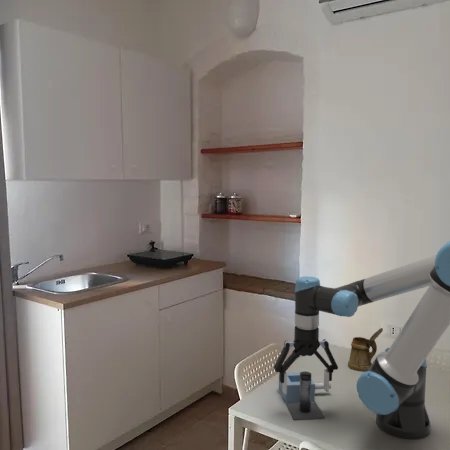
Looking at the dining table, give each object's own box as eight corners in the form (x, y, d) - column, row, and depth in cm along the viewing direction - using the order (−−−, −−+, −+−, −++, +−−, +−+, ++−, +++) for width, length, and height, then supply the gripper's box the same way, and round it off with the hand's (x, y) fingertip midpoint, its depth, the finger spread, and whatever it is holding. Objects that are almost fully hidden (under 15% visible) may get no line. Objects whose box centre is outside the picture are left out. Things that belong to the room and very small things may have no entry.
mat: (325, 418, 139) (325, 417, 139) (293, 420, 138) (293, 418, 138) (315, 403, 149) (315, 401, 149) (285, 404, 148) (285, 403, 148)
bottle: (308, 407, 146) (309, 371, 145) (312, 412, 142) (312, 375, 141) (298, 407, 145) (298, 371, 144) (301, 413, 142) (301, 376, 141)
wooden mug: (375, 377, 170) (377, 330, 168) (343, 366, 179) (344, 322, 178) (386, 370, 176) (388, 325, 174) (355, 360, 186) (356, 318, 184)
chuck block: (334, 400, 151) (335, 383, 150) (285, 402, 149) (285, 385, 149) (325, 387, 161) (325, 371, 160) (278, 389, 159) (278, 373, 159)
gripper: (340, 321, 146) (339, 384, 148) (265, 323, 144) (264, 387, 146) (349, 328, 139) (347, 395, 141) (269, 331, 136) (269, 398, 138)
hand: (305, 391), depth 143 cm, fingers open, 13 cm apart
